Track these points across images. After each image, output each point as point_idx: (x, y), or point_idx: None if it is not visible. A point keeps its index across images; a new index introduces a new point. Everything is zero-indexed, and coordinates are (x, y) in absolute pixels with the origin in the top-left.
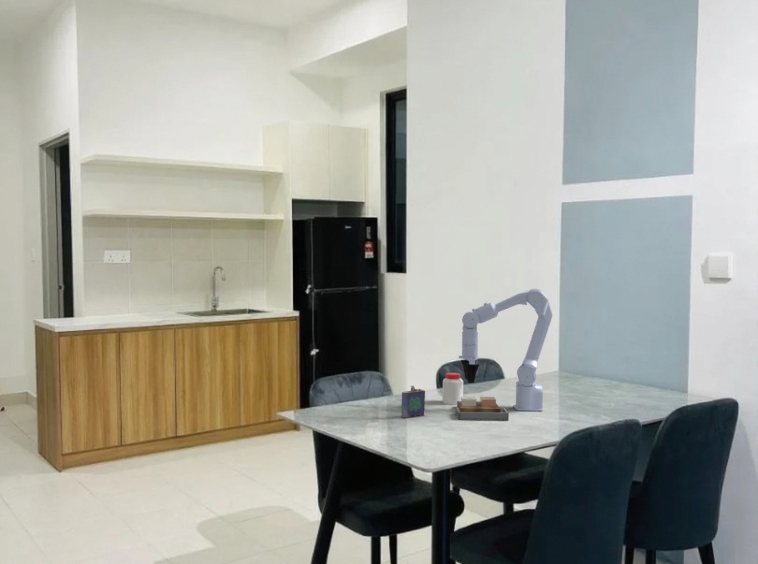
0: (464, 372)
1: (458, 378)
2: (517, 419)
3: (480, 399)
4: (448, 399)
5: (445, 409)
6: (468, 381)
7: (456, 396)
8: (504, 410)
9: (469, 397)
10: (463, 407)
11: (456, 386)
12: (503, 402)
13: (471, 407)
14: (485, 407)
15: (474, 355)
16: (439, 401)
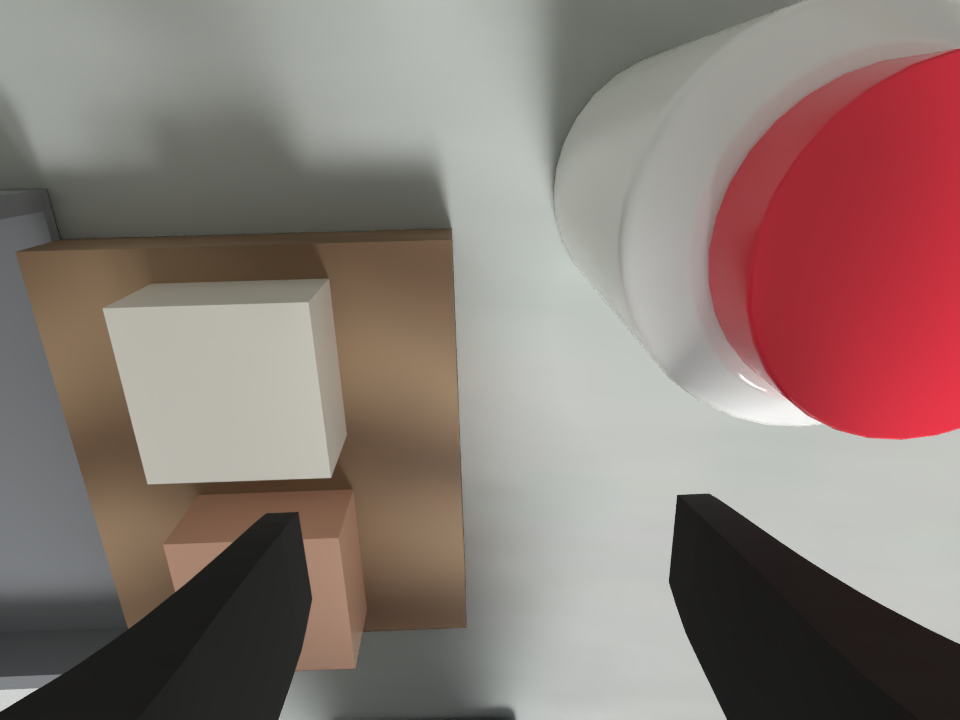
0: (749, 561)
1: (742, 360)
2: (10, 699)
3: (307, 522)
4: (583, 125)
5: (266, 64)
6: (249, 533)
7: (575, 245)
8: (20, 671)
9: (257, 411)
10: (76, 293)
11: (606, 275)
12: (672, 665)
13: (105, 385)
14: (154, 525)
15: None
16: (760, 6)
